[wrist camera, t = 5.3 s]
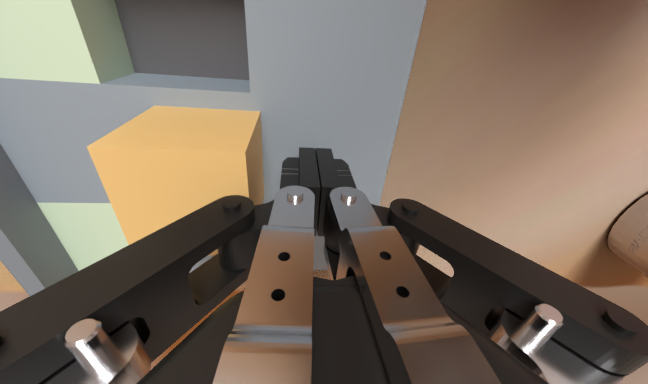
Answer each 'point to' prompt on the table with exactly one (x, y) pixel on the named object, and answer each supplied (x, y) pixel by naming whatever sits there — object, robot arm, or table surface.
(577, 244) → the table surface
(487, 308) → the robot arm
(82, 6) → the board
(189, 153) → the block
